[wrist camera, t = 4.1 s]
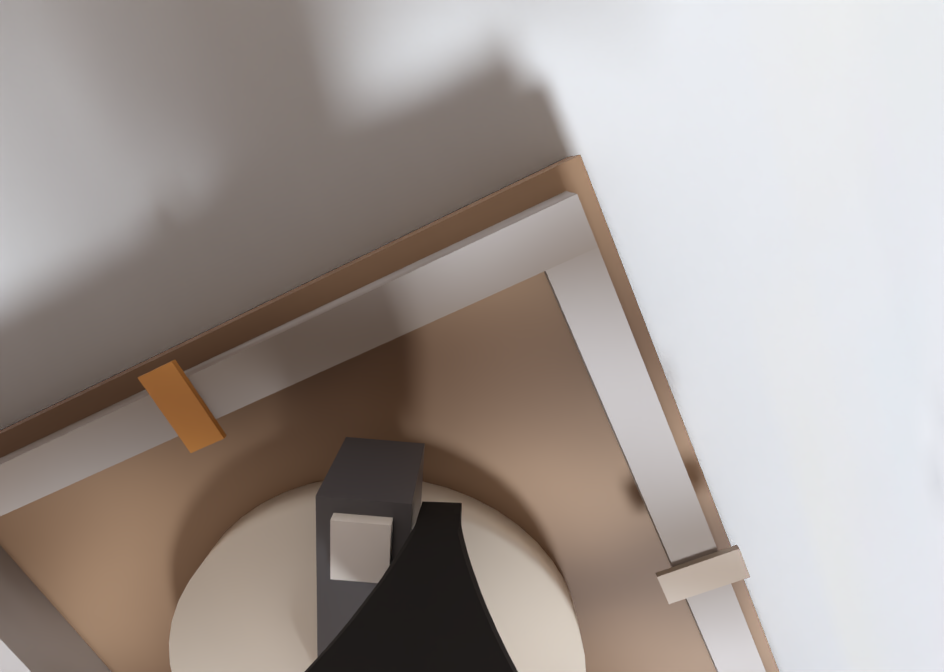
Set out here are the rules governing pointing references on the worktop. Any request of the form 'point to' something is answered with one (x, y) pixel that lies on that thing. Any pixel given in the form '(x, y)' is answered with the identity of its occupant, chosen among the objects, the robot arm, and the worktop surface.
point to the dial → (358, 571)
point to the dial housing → (395, 419)
